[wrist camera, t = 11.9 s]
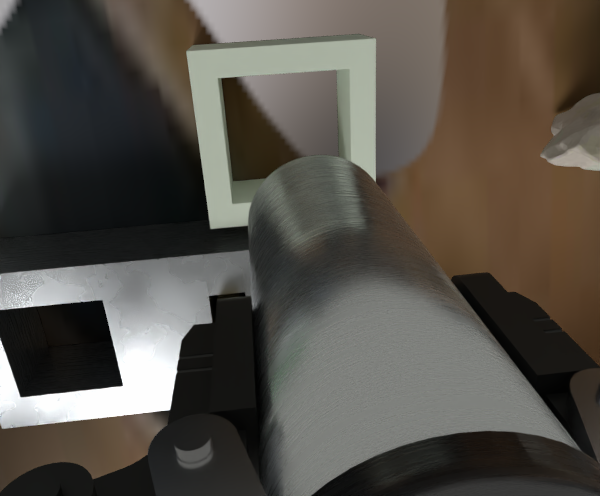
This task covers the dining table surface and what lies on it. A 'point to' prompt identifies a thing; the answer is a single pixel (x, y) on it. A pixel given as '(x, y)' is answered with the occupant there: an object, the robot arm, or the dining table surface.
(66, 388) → the socket block
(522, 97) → the dining table surface
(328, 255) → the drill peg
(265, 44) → the hollow square frame block
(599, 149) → the stone tool
